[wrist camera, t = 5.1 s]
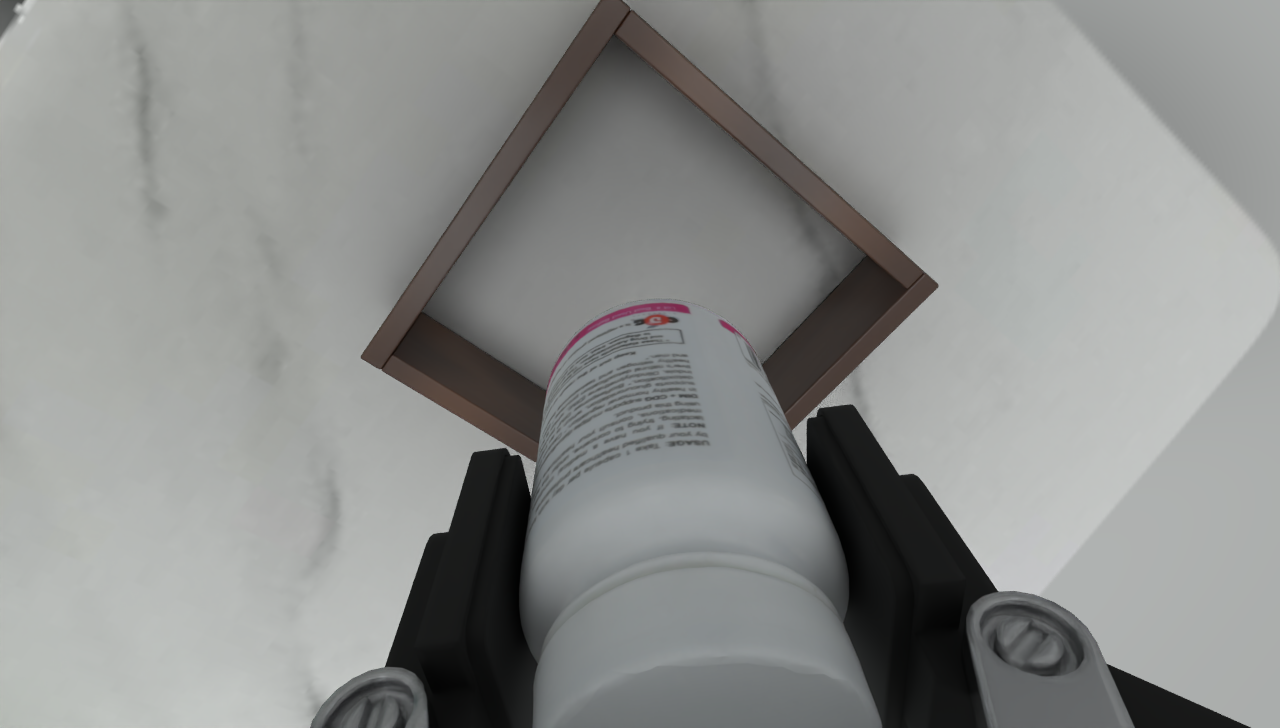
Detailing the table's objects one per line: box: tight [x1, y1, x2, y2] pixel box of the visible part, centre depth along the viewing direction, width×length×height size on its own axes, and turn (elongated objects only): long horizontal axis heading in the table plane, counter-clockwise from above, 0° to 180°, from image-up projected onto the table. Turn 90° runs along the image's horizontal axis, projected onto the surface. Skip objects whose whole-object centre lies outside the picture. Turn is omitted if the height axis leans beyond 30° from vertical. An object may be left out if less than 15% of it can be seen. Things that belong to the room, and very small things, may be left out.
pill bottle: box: [519, 299, 882, 728], centre depth 11 cm, size 5×5×8 cm
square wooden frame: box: [361, 0, 938, 462], centre depth 21 cm, size 12×12×4 cm
